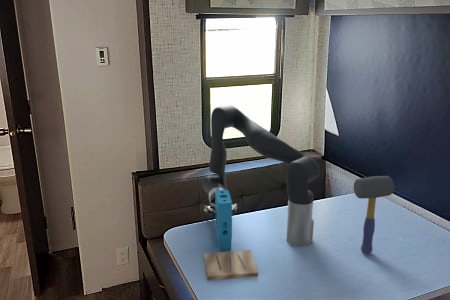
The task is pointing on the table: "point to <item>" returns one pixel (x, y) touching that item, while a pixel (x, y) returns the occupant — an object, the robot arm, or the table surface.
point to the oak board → (230, 265)
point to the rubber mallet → (371, 203)
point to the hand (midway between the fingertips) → (223, 218)
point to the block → (223, 219)
